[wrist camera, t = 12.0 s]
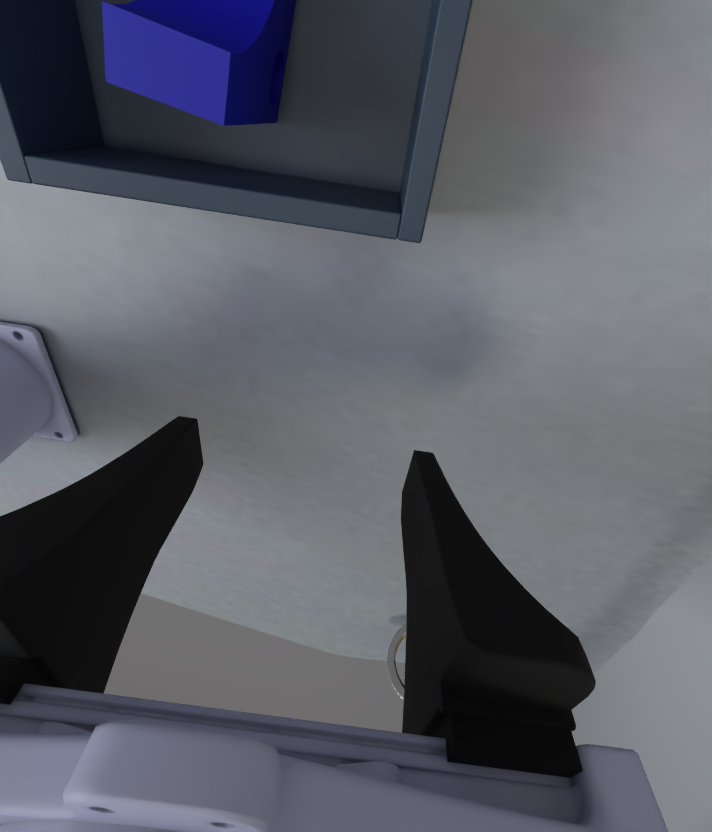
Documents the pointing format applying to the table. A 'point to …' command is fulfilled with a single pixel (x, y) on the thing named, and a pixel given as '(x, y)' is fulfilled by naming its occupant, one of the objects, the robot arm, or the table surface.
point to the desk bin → (244, 144)
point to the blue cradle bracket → (202, 55)
